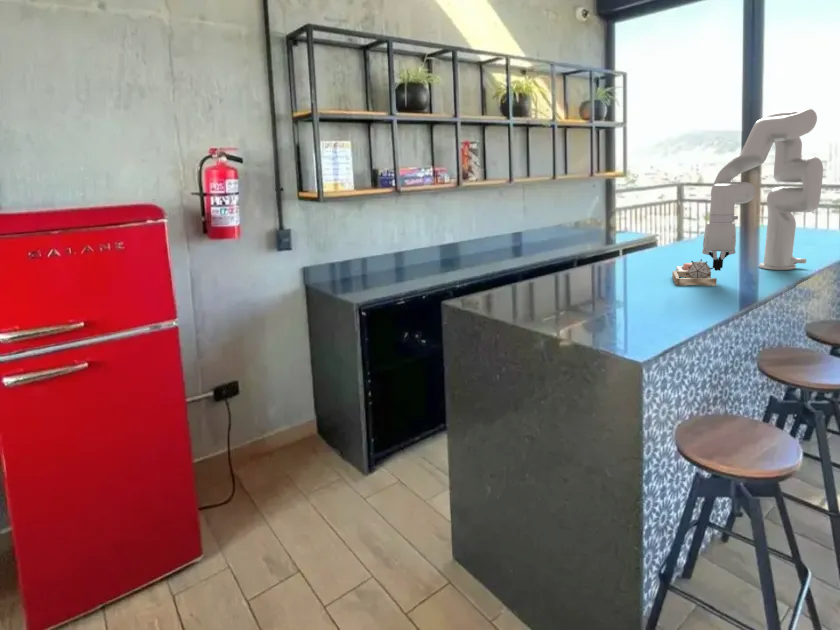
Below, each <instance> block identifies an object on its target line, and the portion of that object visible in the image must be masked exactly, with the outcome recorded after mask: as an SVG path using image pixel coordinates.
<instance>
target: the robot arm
mask: <svg viewBox="0 0 840 630" xmlns="http://www.w3.org/2000/svg"><path fill="white" fill-rule="evenodd" d="M817 123H818V116H817V112H816V111H815V110H814V109H812V108H798V109H787V110H779V111H777V110H776V111H772V112H770V113H768V114H766V115H765V117H763V118H760V119H758V120H757V121H756V122H755V123H754V124H753V126H752V128H751V130H750V132H749V135H748V137H747V139H746V141H745V143H744V146H743V147H742V150H741V151H740V153H739V155H737V156H736V157H734V158H732V159H731V160H730V161H729V162H728V163H727V164H725V165H724V166H723V167H722V168H721V169H720V171H719V172H718V173H717V175H716V178H715V179H714V182H713V184H712V187H711V189H710V208H709V222H706V224H705V229H704V233H703V234H704V235H703V243H702V248H703V249H702V254H703V255H707V256H710V257H711V258H712V268H713V270H714V271H719V272H721V271H722V269H723V264H724V260H725V258H727V257H728V256H731V255H734V254H736V244H737V243H736V242H737V233H736V230H737V229H736V223H735V222H734V221H736V220H738V219H739V216H738V215H736V214H734V213H735V212H734V211H735V204H747V203H749V202H751V201H752V200H753V199H754V197H755V196H756V188H755V186H754V184H752V183H750V182H748V181H733V179H735V178H736V177H737V176H739V175H740V174H742V173H745V172H747V171H749V170H752V169H754V168H756V167H759V166H761V165H763V164H764V163H765V162H766V159H767V158H768V155H769V153H770V151H771V148H772V147H773V144H774V149H775V150H774V151H775V152H774V165H773V167H774V168H773V179H774V180H775V182H777V183H779V184H780V183H781V184H802V186H777V187H774V188H772V189H770V190H769V192H767V193H768V194H767V197H766V206H767V223H766V224H767V226H766V236H765V245H764V246H765V247H764V256H763V262H760V263H759V264H758V267H759V268H761V269H765V270H771V271H772V270H774V271H787V270H788V271H789V270H794V269H796V268H797V265H796V264H806V263H807V258H798V257H795V256H793V255H794V243H795V237H796V235H795V234H796V227H797V222H796V219H795V217H794V215H793V213H812V212H815V210H817V209H818V207H819V205H820V201H821V195H822V194H821V193H822V185H823V175H824V166H823V162H822V160H821V159H820V158H819V157H816V156H802V153H803V152H802V150H803V149H802V148H803V143H802V140H801V138H800V137H803V136H805V135H807V134H808V133H811V131H812V130H814V128H815V127H816V124H817ZM717 252H720V254H719V256H718V253H717Z"/></svg>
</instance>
